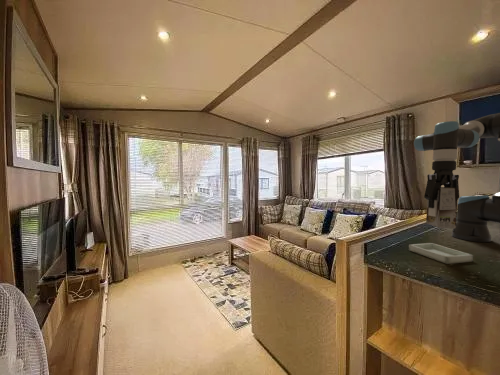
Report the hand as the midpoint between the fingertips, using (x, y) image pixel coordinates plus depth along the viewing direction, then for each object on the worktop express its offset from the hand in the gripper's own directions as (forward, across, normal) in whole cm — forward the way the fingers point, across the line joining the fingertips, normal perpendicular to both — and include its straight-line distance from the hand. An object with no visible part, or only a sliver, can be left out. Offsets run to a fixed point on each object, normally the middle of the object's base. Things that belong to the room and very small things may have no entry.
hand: (440, 215), depth 94 cm
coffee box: (+4, 0, 0) cm, 4 cm away
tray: (+17, 0, 0) cm, 17 cm away
